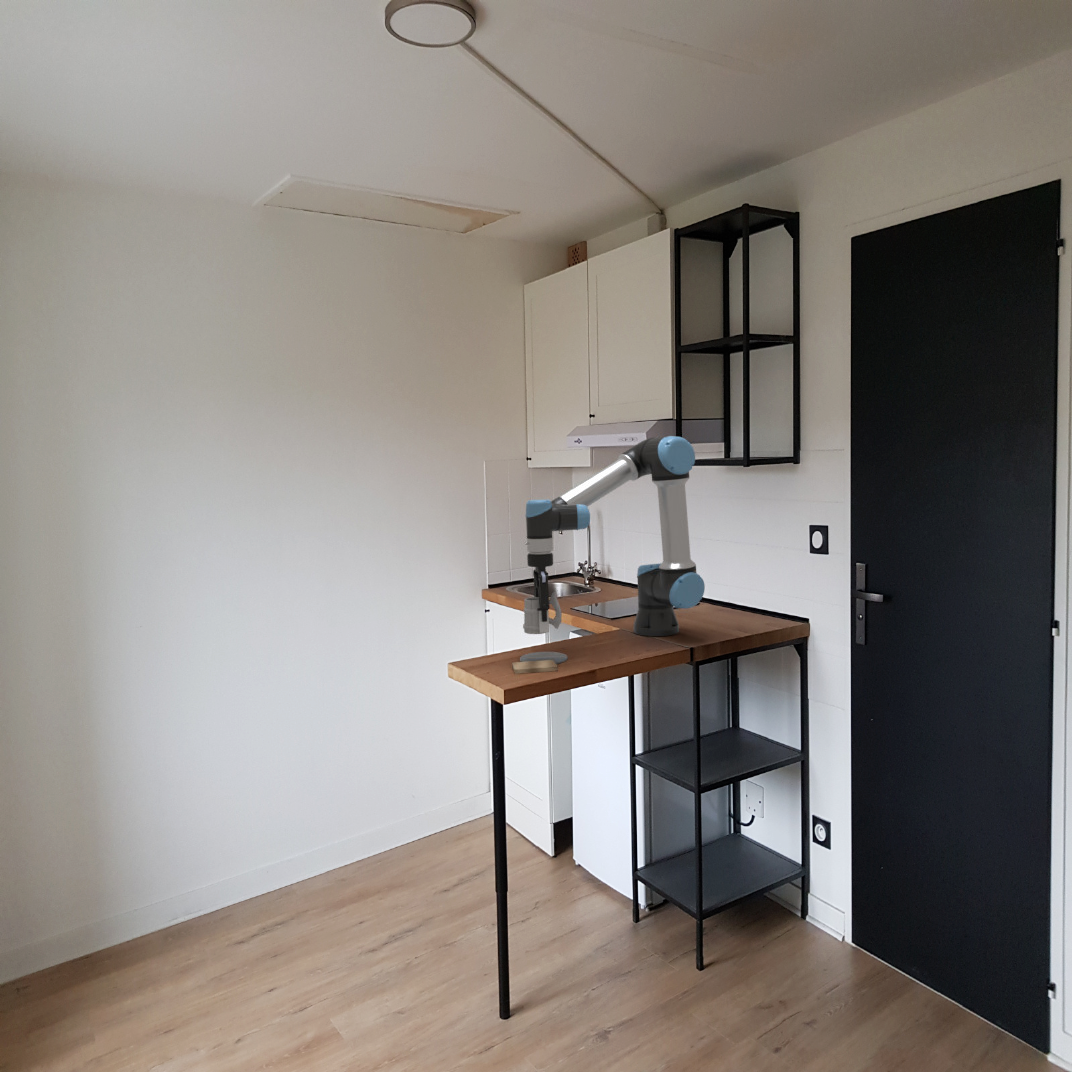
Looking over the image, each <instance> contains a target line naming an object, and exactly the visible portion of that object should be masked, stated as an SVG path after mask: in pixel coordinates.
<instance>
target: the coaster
mask: <svg viewBox="0 0 1072 1072" xmlns="http://www.w3.org/2000/svg"><path fill="white" fill-rule="evenodd" d="M542 660H554V662H555V663H556V665H557V664H562V663H565V662H566V661H567V660H568V655H567V654H566V653H562V652H558V651H536V652H529V653H526V654H522V655H521V656H520V657H519V662H527V661H542Z"/></svg>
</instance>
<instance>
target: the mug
mask: <svg viewBox="0 0 1072 1072" xmlns="http://www.w3.org/2000/svg"><path fill="white" fill-rule="evenodd" d="M549 605H551V606H552V607H553V609H554V613H555V616H554V618H551V617H549V625H552V626H553V627H554V628H555V629H557V630H558V629H559V627H560V625H561V623H562V615H563V613H562V609H561V606H560V603H559V600H558V598H557V592H556V591H553V592H552V593H551V594H550V597H549ZM537 608H540V607H539V597H534V596H532V597H526V598H524V607H523V613H524V614H523V615H524V617H523V619H524V620H523V621H524V623H523V627H522V629H523V631H524V633H525V634H528V635H543V634H544V633H540V632H539V611H537ZM547 633H548V632H546V633H545V634H547Z"/></svg>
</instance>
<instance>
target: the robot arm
mask: <svg viewBox="0 0 1072 1072" xmlns="http://www.w3.org/2000/svg"><path fill="white" fill-rule="evenodd" d="M695 463H696V454H695V449H694V447H693V445H692V444H691V442H689V441H688V440H687V439H686V438H684V437H681V436H674V435H668V436H661V437H660V436H659V437H649V438H647V439H643V440H642V441H640V442H639V443H637V444H635V445H633V446H631V447H630V448H629V449H627V450H625V451H624V452H622V453H621V454H619V455H618V457H617V460H616V461H614V462H613V463H611V464H609V465H608V466H606V467H604V468H603V469H601V470H599V471H598V472H596V473H594V474H593V475H592V476H590V477H588V478H587V479H584V480H583V481H581V482H580V483H579V484H577V485H575V486H574V487H572V488H571V489H569V490H568V491H566V492H564V493H563V494H560V496H558V497H556V498H554V499H553V500H552V499H551V500H550V499H531V500H530V499H529V500H528V501H527V502H526V505H525V523H526V540H527V541H525V542H524V544H525V545H526V551H527V552H528V554H527V555H526V556H527V557H526V559H527V566H528V567H531V568H534V569H533V570H532V577H533V597H539V607H540V608H537V611H539V632H540V633H543V634H547V633H550V624H549V618H550V617H549V610H550V608H551V607H550V604H549V600H550V597H549V596H550V594H549V593H550V592H549V573H548V572H547V569H546V567H552V566H553V565H554V553H552V552H553V551H554V542H553V541H554V539H553V538H554V537H553V532H559V531H578V530H579V531H580V530H585V529H587V528H588V527H589V525H590V522H591V513H590V509H589V507H590V506H591V505H592V504H595V502H597V501H599V500H600V499H602V498H604V497H605V496H607V495H608V494H610V493H612V492H613V491H614V490H616V489H618V488H620V487H621V486H623V485H625V484H626V483H628V482H629V481H632V482H634V481H636V480H638V479H640V478H642V477H644V476H647V475H651V481H652V483H653V484H655V485H656V487H657V498H658V508H659V509H658V510H659V524H660V536H661V549H662V550H661V551H662V562H661V563H650V564H642V565H639V566H638V568H637V574H636V578H637V601H638V602H637V603H638V604H637V605H638V606H637V607H638V608H637V613H636V616H635V619H634V622H633V633H634V634H636V635H639V636H646V637H665V636H666V637H667V636H673V635H676V634H679V633H680V624H679V622H678V618H677V616H676V613H675V610H674V608H676V609H691V608H694V607H695V606H696V605H698V604H699V603H700V601H701V600H702V599H703V596H704V594H705V586H706V585H705V581H704V579H703V578H702V577H701V575H700V574H698V573H697V564H696V562H695V561H693V559H692V558H691V550H690V549H691V546H690V545H691V543H690V535H689V534H690V533H689V521H688V519H689V518H688V506H687V494H686V483H687V482H688V481H689V480H690V471H691V470H692V469H693V466H694V465H695ZM546 632H547V633H546Z"/></svg>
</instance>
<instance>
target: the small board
mask: <svg viewBox="0 0 1072 1072" xmlns="http://www.w3.org/2000/svg"><path fill="white" fill-rule="evenodd" d="M511 668H512V670H513V673H514V675H515V674H516V675H517V674H519V675H520V674H530V673H531V674H532V673H544V672H545V673H546V672H548V673H549V672H558V671H559V670H558V669H559V668H558V665H557V664H556V663H555V662H554V660H542V661H527V662H521V661H514V662H511Z"/></svg>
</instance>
